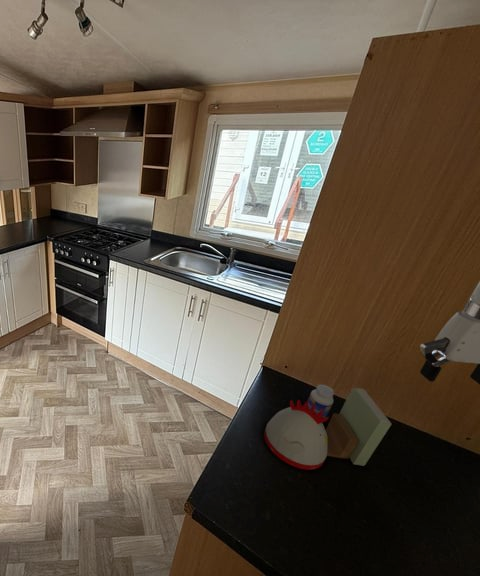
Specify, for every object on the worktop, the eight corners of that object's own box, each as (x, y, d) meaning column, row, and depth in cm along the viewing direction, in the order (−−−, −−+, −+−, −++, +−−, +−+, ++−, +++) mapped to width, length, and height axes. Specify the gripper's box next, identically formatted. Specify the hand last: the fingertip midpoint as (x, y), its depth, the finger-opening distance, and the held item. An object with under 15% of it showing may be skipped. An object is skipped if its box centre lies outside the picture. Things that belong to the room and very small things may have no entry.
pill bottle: (299, 411, 93) (309, 386, 88) (310, 404, 95) (320, 380, 91) (318, 424, 88) (330, 399, 84) (329, 417, 91) (341, 392, 86)
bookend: (332, 432, 86) (341, 414, 83) (348, 459, 79) (358, 440, 76) (312, 429, 87) (321, 411, 84) (326, 455, 80) (336, 437, 77)
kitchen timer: (312, 481, 74) (333, 437, 67) (254, 441, 83) (268, 400, 77) (332, 447, 82) (353, 406, 75) (277, 414, 91) (292, 375, 85)
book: (364, 388, 80) (353, 386, 80) (392, 423, 70) (380, 421, 71) (341, 429, 87) (331, 427, 87) (364, 466, 77) (353, 464, 77)
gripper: (526, 306, 63) (482, 372, 71) (427, 301, 66) (395, 364, 74) (569, 326, 57) (515, 396, 64) (458, 319, 60) (419, 387, 67)
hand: (451, 379), depth 69 cm, fingers open, 9 cm apart
